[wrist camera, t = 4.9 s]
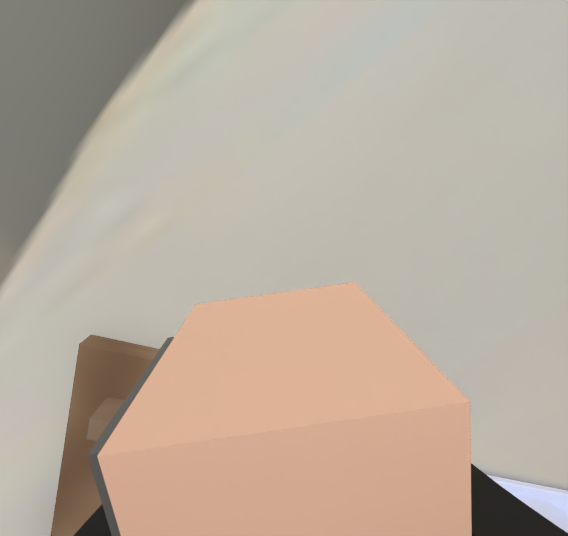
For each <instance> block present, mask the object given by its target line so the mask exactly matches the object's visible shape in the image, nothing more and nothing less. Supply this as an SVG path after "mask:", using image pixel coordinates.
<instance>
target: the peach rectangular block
mask: <svg viewBox="0 0 568 536" xmlns="http://www.w3.org/2000/svg"><path fill="white" fill-rule="evenodd" d="M87 456H88V459H89V463H90V466H91V469H92V472H93V476H94V479H95V482H96V486H97V489H98V492H99V495H100V499H101V502H102V505H103V509H104V512H105V515H106V518H107V522H108V525H109V528H110V531H111V535H112V536H472V520H471V436H470V401H469V400H468V399H467V398H466V397H465V396H464V395H463V394H462V393H461V392H460V391H459V390H458V389H457V388H456V387H455V386H454V385H453V384H452V383H451V382H450V380H449V379H448V378H447V377H446V376H445V375H444V374H443V373H442V372H441V371H440V370H439V369H438V368H437V367H436V366H435V365H434V364H433V363H432V362H431V361H430V360H429V359H428V358H427V357H426V356H425V354H424V353H423V352H422V351H421V350H420V349H419V348H418V347H417V346H416V345H415V344H414V343H413V342H412V341H411V340H410V339H409V338H408V337H407V336H406V335H405V334H404V333H403V332H402V331H401V330H400V329H399V327H398V326H397V325H396V324H395V323H394V322H393V321H392V320H391V319H390V318H389V317H388V316H387V315H386V314H385V313H384V312H383V311H382V310H381V309H380V308H379V307H378V306H377V305H376V304H375V303H374V302H373V300H372V299H371V298H370V297H369V296H368V295H367V294H366V293H365V292H364V291H363V290H362V289H361V288H360V287H359V286H358V285H357V284H356V283H355V282H352V283H345V284H337V285H330V286H323V287H316V288H309V289H302V290H294V291H287V292H280V293H273V294H266V295H259V296H251V297H244V298H237V299H230V300H223V301H216V302H208V303H201V304H196V305H195V306H194V308H193V309H192V311H191V313H190V314H189V316H188V317H187V319H186V320H185V322H184V323H183V325H182V326H181V328H180V329H179V331H178V333H177V334H176V336H175V337H171V338H167V340H166V341H165V343H164V344H163V346H162V347H161V349H160V350H159V351H158V353H157V354H156V356H155V357H154V359H153V360H152V362H151V363H150V364H149V366H148V367H147V369H146V370H145V372H144V373H143V375H142V376H141V377H140V379H139V380H138V382H137V383H136V385H135V386H134V388H133V389H132V390H131V392H130V393H129V395H128V396H127V398H126V399H125V401H124V402H123V403H122V405H121V406H120V408H119V409H118V411H117V412H116V414H115V415H114V416H113V418H112V419H111V421H110V422H109V424H108V425H107V427H106V428H105V429H104V431H103V432H102V434H101V435H100V437H99V438H98V440H97V441H96V442H95V444H94V445H93V447H92V448H91V450H90V451H89V453H88V454H87Z"/></svg>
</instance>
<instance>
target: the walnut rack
mask: <svg viewBox="0 0 568 536" xmlns="http://www.w3.org/2000/svg"><path fill="white" fill-rule="evenodd" d="M159 350H160V349H155V348H151V347H146V346H141V345H137V344H132V343H127V342H123V341H118V340H113V339H109V338H104V337H99V336H95V335H90V336H89V337H88V338H86V339H85V340H84V341H83V342H81V343H80V344H79V350H78V357H77V363H76V370H75V377H74V383H73V390H72V397H71V404H70V410H69V417H68V424H67V430H66V437H65V444H64V451H63V457H62V464H61V471H60V477H59V484H58V491H57V497H56V504H55V511H54V518H53V524H52V531H51V536H74V534H75V533H76V532H77V531H78V530H79V529H80V528H81V527H82V526H83V524H84V523H85V522H86V521H87V520H88V519H89V518H90V517H91V516H92V514H93V513H94V512H95V511H96V510H97V509H98V508H99V507H100V506H101V505H102V502H101V499H100V495H99V492H98V489H97V486H96V482H95V479H94V476H93V472H92V469H91V466H90V463H89V459H88V456H87V454H88V453H89V451H90V450H91V448H92V447H93V445H94V444H95V442H96V441H97V440H98V438H99V437H100V435H101V434H102V432H103V431H104V429H105V428H106V427H107V425H108V424H109V422H110V421H111V419H112V418H113V416H114V415H115V414H116V412H117V411H118V409H119V408H120V406H121V405H122V403H123V402H124V401H125V399H126V398H127V396H128V395H129V393H130V392H131V390H132V389H133V388H134V386H135V385H136V383H137V382H138V380H139V379H140V377H141V376H142V375H143V373H144V372H145V370H146V369H147V367H148V366H149V364H150V363H151V362H152V360H153V359H154V357H155V356H156V354H157V353H158V351H159Z"/></svg>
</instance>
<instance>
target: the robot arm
mask: <svg viewBox="0 0 568 536" xmlns="http://www.w3.org/2000/svg"><path fill="white" fill-rule="evenodd" d="M471 520H472V536H568V491H567V490H562V489H557V488H552V487H547V486H542V485H536V484H531V483H526V482H521V481H516V480H511V479H506V478H501V477H496V476H491V475H486V474H484V473H483V472H482V471H481V470H479V469H478V468H477V467H475V466H474V465H473V464H471ZM74 536H112V535H111V531H110V528H109V525H108V522H107V518H106V515H105V512H104V509H103V505H101V506H100V507H99V508H98V509H97V510H96V511H95V512H94V513H93V514H92V516H91V517H90V518H89V519H88V520H87V521H86V522H85V523H84V524H83V526H82V527H81V528H80V529H79V530H78V531H77V532H76V533H75V534H74Z"/></svg>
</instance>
